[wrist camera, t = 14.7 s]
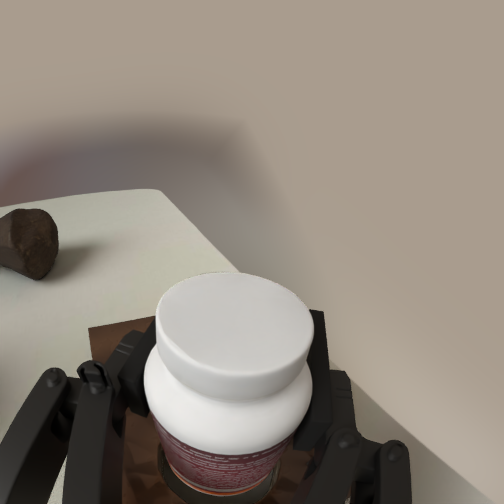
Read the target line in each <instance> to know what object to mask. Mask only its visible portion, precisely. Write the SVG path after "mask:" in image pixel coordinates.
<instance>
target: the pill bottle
mask: <svg viewBox="0 0 504 504" xmlns="http://www.w3.org/2000/svg"><path fill="white" fill-rule="evenodd" d="M313 336H314V323H313V319H312V316H311V314H310V312H309V310H308V308H307V307H306V305H305V304H304V303H303V302H302V300H300V298H298V296H296V295H295V294H294V293H293V292H291V291H290V290H288V289H286V288H285V287H283V286H281V285H279V284H277V283H275V282H273V281H270V280H268V279H265V278H262V277H258V276H254V275H250V274H244V273H237V272H213V273H205V274H200V275H196V276H193V277H189V278H187V279H185V280H183V281H181V282H179V283H177V284H175V285H174V286H172V287H171V288H170V289H169V290H168V291H167V292H166V293H165V294H164V295H163V296H162V298H161V299H160V302H159V304H158V306H157V310H156V342H157V343H156V345H155V346H154V348H153V349H152V350H151V353H150V354H149V357H148V359H147V362H146V365H145V371H144V388H145V393H146V397H147V401H148V405H149V408H150V411H151V414H152V418H153V420H154V423H155V427H156V429H157V432H158V435H159V438H160V441H161V444H162V447H163V449H164V452H165V455H166V458H167V460H168V462H169V465H170V467H171V469H172V470H173V472H174V473H175V474H176V475H177V477H178V478H179V479H181V480H182V481H183V482H184V483H185V484H187V485H188V486H190V487H191V488H193V489H195V490H197V491H199V492H202V493H205V494H209V495H214V496H232V495H237V494H241V493H244V492H247V491H249V490H251V489H253V488H255V487H256V486H257V485H259V484H260V483H261V482H262V481H263V480H264V479H265V478H266V477H267V476H268V475H269V473H270V472H271V470H272V469H273V467H274V466H275V464H276V463H277V461H278V460H279V458H280V457H281V455H282V453H283V452H284V450H285V448H286V447H287V445H288V444H289V442H290V440H291V439H292V437H293V435H294V434H295V432H296V430H297V429H298V427H299V425H300V423H301V421H302V420H303V418H304V416H305V414H306V412H307V410H308V407H309V404H310V401H311V396H312V377H311V373H310V369H309V367H308V364H307V362H306V359H307V355H308V352H309V349H310V346H311V343H312V340H313Z"/></svg>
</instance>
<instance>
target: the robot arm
mask: <svg viewBox="0 0 504 504" xmlns="http://www.w3.org/2000/svg"><path fill="white" fill-rule="evenodd" d="M309 312H310V314H311V316H312V319H313V323H314V336H313V340H312V343H311V346H310V349H309V352H308V355H307V359H306V362H307V364H308V367H309V369H310V373H311V377H312V396H311V401H310V404H309V407H308V410H307V412H306V414H305V416H304V418H303V420H302V421H301V423H300V425H299V427H298V429H297V430H296V432H295V434H294V437H293V450H298V451H311V450H312V449H313V447H314V456H313V457H312V458H311V459H310V460H309V461H308V462H307V464H306V466H308V467H307V469H306V471H305V473H304V476H303V478H302V480H301V482H300V484H299V486H298V488H297V490H296V492H295V494H294V496H293V498H292V500H291V502H290V504H345V501H346V498H347V496H348V493H349V490H350V487H351V497H350V504H412V491H411V472H410V460H409V452H408V448H407V447H406V445H405V444H404V443H402V442H401V441H398V440H390V441H388V442H386V443H385V444H381V443H377V442H373V441H370V440H367V439H365V438H364V437H362V435H361V434H360V433H359V432H358V430H357V428H356V423H355V414H354V405H353V399H352V391H351V382H350V379H349V377H348V375H347V374H346V372H345V371H339V370H330V368H329V357H328V348H327V338H326V329H325V320H324V312H323V311H317V310H311V309H310V310H309ZM156 343H157V342H156V316H155V318H154V319H153V321H152V322H151V324H150V325H149V327H148V328H147V330H146V331H145V333H143V332H140V331H137V330H134V329H133V330H132V331H130V332H129V333H127V334H126V335H124V337H123V338H122V340H121V341H120V342H119V344H118V345H117V347H116V348H115V350H114V351H113V352H112V354H111V355H110V357H109V358H108V360H107V361H106V362H105V364H103V363H101V362H99V361H96V360H89V361H86V362H84V363H82V364H81V365H80V366H79V367H78V369H77V373H78V375H79V377H80V378H73V377H67V375H66V374H65V372H64V371H63V370H62V369H60V368H50V369H48V370H46V371H45V372H44V373H43V374H42V376H41V377H40V379H39V380H38V382H37V383H36V385H35V386H34V388H33V389H32V391H31V392H30V394H29V395H28V397H27V399H26V400H25V402H24V403H23V405H22V407H21V408H20V410H19V412H18V413H17V415H16V417H15V418H14V420H13V422H12V424H11V425H10V427H9V429H8V431H7V433H6V434H5V436H4V438H3V440H2V442H1V444H0V504H47V503H48V500H49V497H50V495H51V492H52V490H53V487H54V484H55V482H56V479H57V477H58V475H59V472H60V470H61V467H62V465H63V463H64V460H65V458H66V456H67V461H66V468H65V476H64V486H63V498H62V504H122V475H123V454H124V439H125V428H126V414H125V412H126V410H127V408H128V406H129V408H130V411H131V412H132V413H135V414H137V415H140V416H143V417H145V418H147V416H148V414H149V412H150V408H149V405H148V401H147V397H146V393H145V388H144V371H145V365H146V362H147V359H148V357H149V354H150V353H151V350H152V349H153V348H154V346H155V345H156Z"/></svg>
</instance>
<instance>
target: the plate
mask: <svg viewBox="0 0 504 504" xmlns="http://www.w3.org/2000/svg"><path fill="white" fill-rule="evenodd" d="M154 318H155V316H151V317H146V318H141V319H136V320H130V321H125V322H120V323H114V324H109V325H103V326H97V327H92V328H88V331H89V339H90V346H91V353H92V359H93V360H96V361H99V362H101V363H103V364H105V362H106V361H107V360H108V358H109V357H110V355H111V354H112V352H113V351H114V350H115V348H116V347H117V345H118V344H119V342H120V341H121V340H122V338H123V337H124V335H126V334H127V333H129V332H130V331H132V330H133V329H134V330H137V331H140V332H143V333H145V331H146V330H147V328H148V327H149V325H150V324H151V322H152V321H153V319H154ZM125 414H126V428H125V439H124V454H123V475H122V504H188V503H187V502H185V501H184V500H183V499H182V498H180V497H179V496H178V495H177V494H175V493H174V492H173V491H172V490H171V489H169V487H168V485H167V483H166V481H165V479H164V477H163V458H164V456H165V452H164V449H163V447H162V444H161V441H160V438H159V435H158V432H157V429H156V427H155V423H154V420H153V418H152V414H151V411H150V412H149V414H148V416H147V418H145V417H143V416H140V415H137V414H135V413H132V412H131V411H130V408H129V406H128V408H127V410H126V412H125ZM293 437H294V435H293ZM293 437H292V439H291V440H290V442H289V444H288V445H287V447H286V448H285V450H284V452H283V453H282V455H281V457H280V458H279V460H278V461H277V463H276V464H275V466H274V467H273V477H272V481H271V485H270V489H269V491H268V492H267V493H266V495H265V496H264V497H263V498H262V499H261V500H260V501H258V502H255V503H253V504H290V502H291V500H292V498H293V496H294V494H295V492H296V490H297V488H298V486H299V484H300V482H301V480H302V478H303V476H304V473H305V471H306V469H307V467H308V466H306V464H307V462H308V461H309V460H310V459H311V458H312V457H313V456H314V447H313V449H312V450H311V451H298V450H293ZM350 496H351V487H350V490H349V493H348V496H347V498H346V500H347V499H348V498H349V497H350Z"/></svg>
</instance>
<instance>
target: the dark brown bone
mask: <svg viewBox="0 0 504 504" xmlns="http://www.w3.org/2000/svg"><path fill="white" fill-rule="evenodd" d="M58 247H59V242H58V230H57V226H56V224H55V222H54V220H53V219H52V217H51V216H50V215H49V214H48V213H47V212H46V211H44V210H41V209H15V210H13V211H11V212H9V213H8V214H6V215H5V216H3V217H2V218H0V265H1V266H4V267H7V268H10V269H12V270H14V271H17V272H19V273H21V274H23V275H25V276H27V277H29V278H31V279H33V280H37V279H40V278H42V277H43V276H44V275H45V274H46V273H47V272H48V271H49V270H50V269H51V267H52V265H53V263H54V261H55V258H56V256H57V254H58Z"/></svg>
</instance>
